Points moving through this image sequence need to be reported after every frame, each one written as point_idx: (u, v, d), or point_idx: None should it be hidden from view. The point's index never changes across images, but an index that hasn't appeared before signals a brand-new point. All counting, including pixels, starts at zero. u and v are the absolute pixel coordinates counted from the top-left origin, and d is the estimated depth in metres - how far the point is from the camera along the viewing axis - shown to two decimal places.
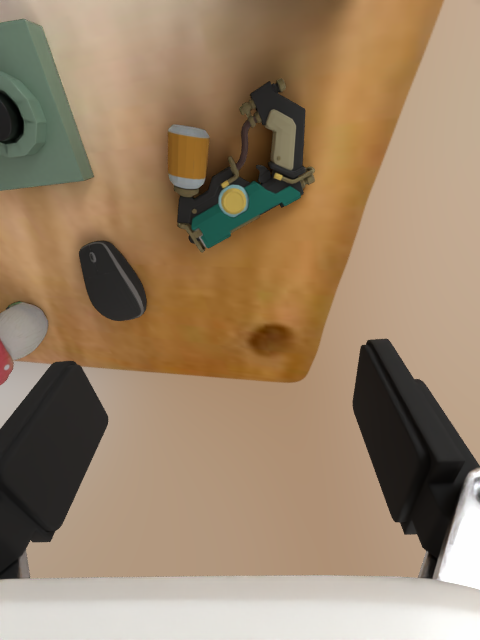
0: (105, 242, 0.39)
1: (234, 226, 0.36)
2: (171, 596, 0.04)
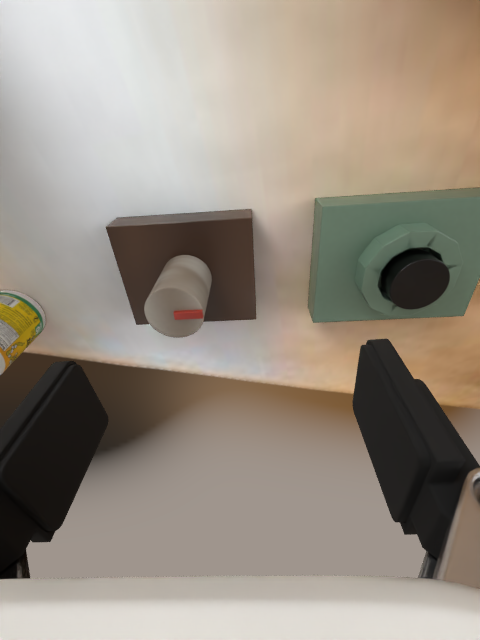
0: None
1: None
2: (171, 596, 0.04)
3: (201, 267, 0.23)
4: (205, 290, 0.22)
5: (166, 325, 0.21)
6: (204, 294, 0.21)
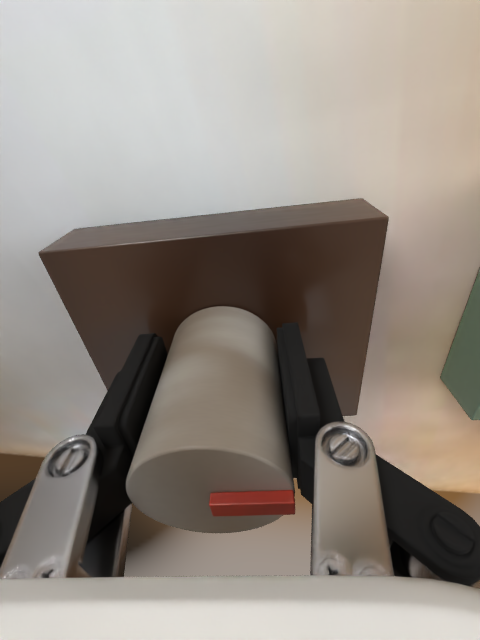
0: None
1: None
2: (171, 596, 0.04)
3: (261, 337, 0.10)
4: (282, 404, 0.09)
5: (188, 516, 0.08)
6: (284, 423, 0.08)
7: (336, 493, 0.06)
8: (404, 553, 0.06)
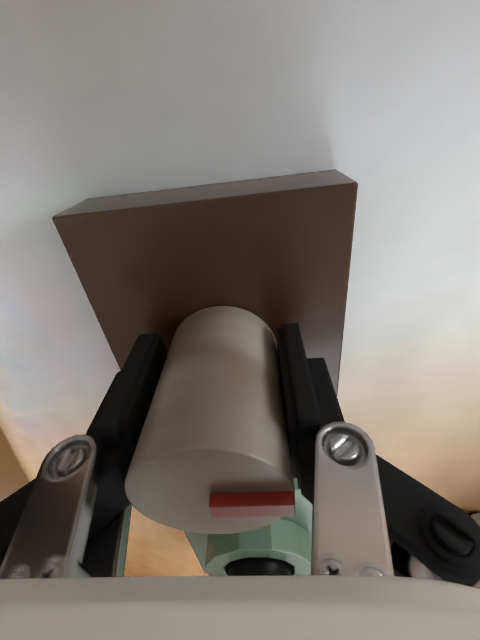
0: None
1: None
2: (171, 596, 0.04)
3: (262, 337, 0.10)
4: (282, 404, 0.09)
5: (187, 516, 0.08)
6: (284, 424, 0.08)
7: (336, 493, 0.06)
8: (404, 553, 0.06)
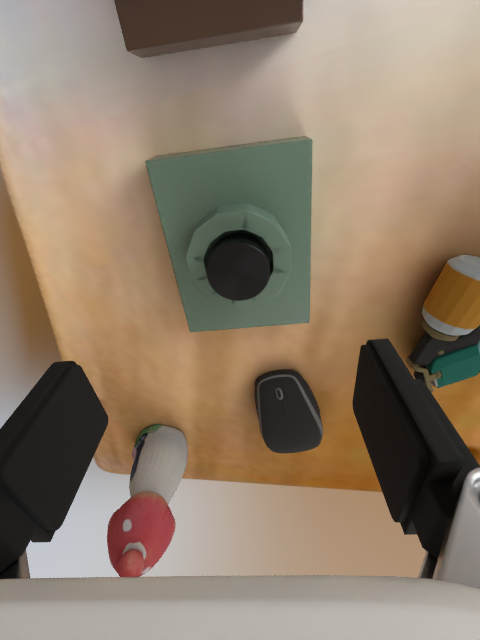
0: (293, 373, 0.31)
1: None
2: (171, 596, 0.04)
3: None
4: None
5: None
6: None
7: None
8: None
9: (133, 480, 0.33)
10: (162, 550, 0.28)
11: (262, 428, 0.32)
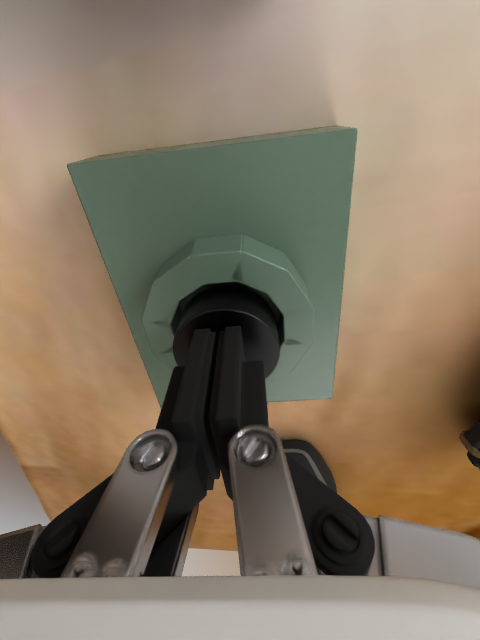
0: (304, 446, 0.23)
1: None
2: (171, 596, 0.04)
3: None
4: None
5: None
6: None
7: (235, 494, 0.06)
8: None
9: None
10: None
11: None
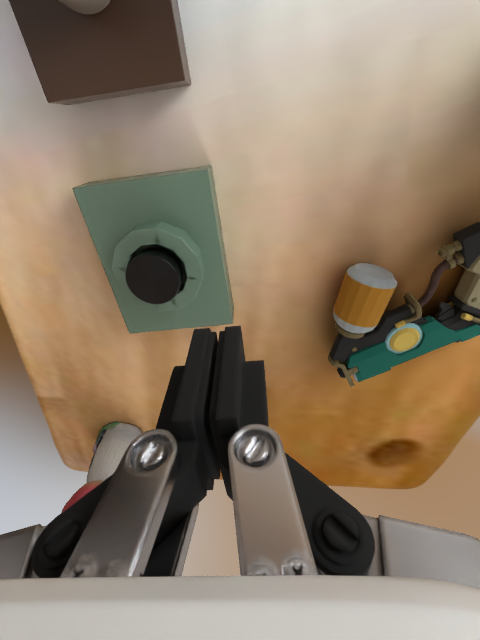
0: None
1: (398, 363, 0.30)
2: (171, 596, 0.04)
3: None
4: None
5: None
6: None
7: (235, 494, 0.06)
8: None
9: (89, 472, 0.35)
10: None
11: None
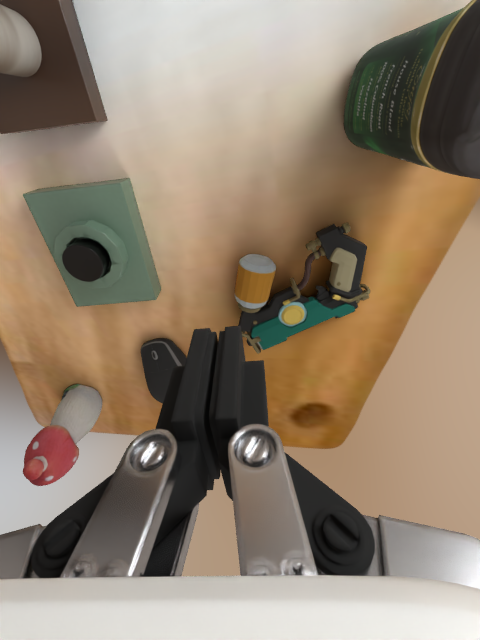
0: (166, 340, 0.42)
1: (291, 334, 0.39)
2: (171, 596, 0.04)
3: (14, 13, 0.22)
4: (7, 21, 0.20)
5: None
6: (0, 18, 0.20)
7: (235, 494, 0.06)
8: None
9: (51, 422, 0.44)
10: (63, 466, 0.39)
11: None
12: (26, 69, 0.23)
